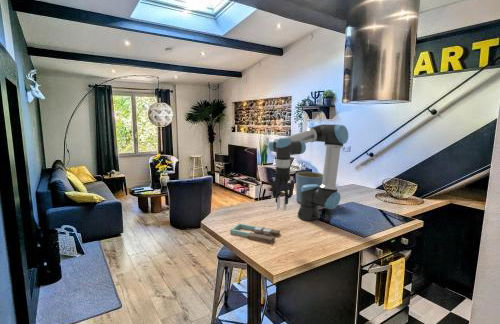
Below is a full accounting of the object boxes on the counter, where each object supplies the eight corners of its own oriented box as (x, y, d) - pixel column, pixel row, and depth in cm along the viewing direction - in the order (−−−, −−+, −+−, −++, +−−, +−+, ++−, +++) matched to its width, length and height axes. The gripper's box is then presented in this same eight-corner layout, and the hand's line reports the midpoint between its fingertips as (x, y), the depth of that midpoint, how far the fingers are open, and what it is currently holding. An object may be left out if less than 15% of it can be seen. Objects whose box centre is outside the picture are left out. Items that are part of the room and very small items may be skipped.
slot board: (257, 231, 164) (257, 226, 163) (279, 235, 158) (279, 230, 157) (247, 239, 151) (247, 234, 151) (271, 245, 145) (271, 239, 145)
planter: (305, 207, 209) (306, 178, 206) (290, 199, 230) (291, 172, 226) (329, 204, 218) (330, 176, 214) (312, 197, 239) (313, 171, 235)
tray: (239, 228, 167) (239, 223, 167) (256, 231, 162) (256, 226, 162) (230, 234, 158) (230, 229, 157) (248, 238, 152) (248, 233, 152)
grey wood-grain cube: (265, 234, 156) (265, 228, 155) (271, 235, 154) (272, 229, 154) (262, 237, 152) (262, 230, 152) (269, 238, 151) (269, 231, 150)
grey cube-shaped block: (256, 232, 158) (256, 226, 158) (263, 234, 157) (263, 227, 156) (253, 235, 155) (253, 228, 154) (260, 236, 153) (260, 230, 153)
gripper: (266, 166, 144) (265, 208, 147) (295, 169, 137) (293, 213, 141) (271, 164, 151) (270, 205, 154) (299, 167, 144) (297, 209, 147)
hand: (281, 209), depth 147 cm, fingers open, 3 cm apart
